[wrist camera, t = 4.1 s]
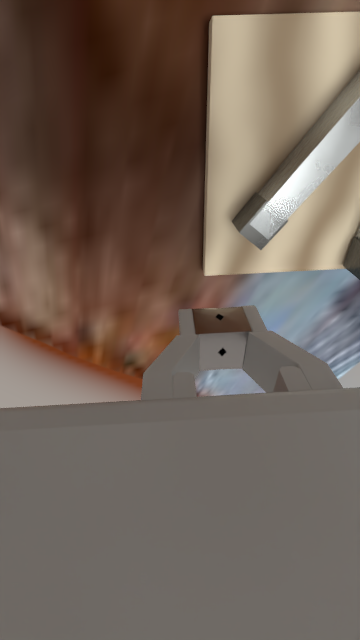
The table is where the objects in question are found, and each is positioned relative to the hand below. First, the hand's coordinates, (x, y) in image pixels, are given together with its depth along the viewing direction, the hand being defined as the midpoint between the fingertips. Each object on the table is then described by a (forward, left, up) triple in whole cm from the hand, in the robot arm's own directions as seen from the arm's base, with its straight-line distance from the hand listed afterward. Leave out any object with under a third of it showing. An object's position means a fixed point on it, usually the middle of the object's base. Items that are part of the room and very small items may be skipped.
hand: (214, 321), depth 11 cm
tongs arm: (+9, +3, -16) cm, 18 cm away
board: (+13, +3, -18) cm, 22 cm away
